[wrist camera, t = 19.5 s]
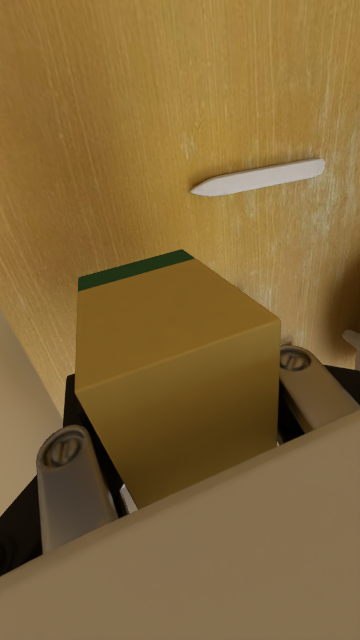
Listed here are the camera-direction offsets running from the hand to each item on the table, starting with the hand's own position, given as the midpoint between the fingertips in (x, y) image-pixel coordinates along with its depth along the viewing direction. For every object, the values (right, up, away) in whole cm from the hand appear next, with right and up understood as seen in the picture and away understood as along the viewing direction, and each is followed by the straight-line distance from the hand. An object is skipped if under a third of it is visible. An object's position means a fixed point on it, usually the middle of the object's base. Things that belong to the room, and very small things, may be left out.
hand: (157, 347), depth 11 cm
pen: (+8, +14, +13) cm, 21 cm away
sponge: (0, 0, +1) cm, 1 cm away
